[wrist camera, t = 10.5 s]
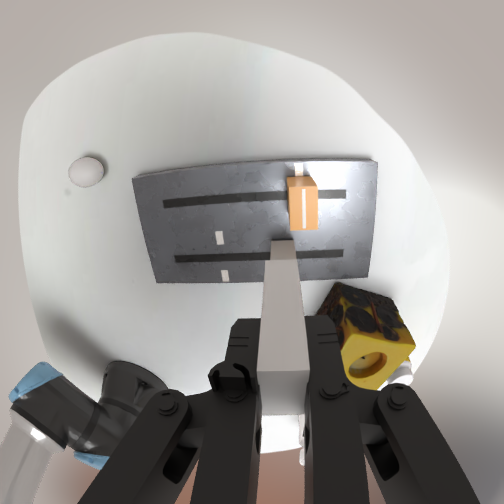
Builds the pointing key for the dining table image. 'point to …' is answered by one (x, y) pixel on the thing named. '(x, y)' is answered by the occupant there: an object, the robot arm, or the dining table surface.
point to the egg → (85, 172)
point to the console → (255, 219)
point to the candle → (367, 334)
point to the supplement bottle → (402, 374)
